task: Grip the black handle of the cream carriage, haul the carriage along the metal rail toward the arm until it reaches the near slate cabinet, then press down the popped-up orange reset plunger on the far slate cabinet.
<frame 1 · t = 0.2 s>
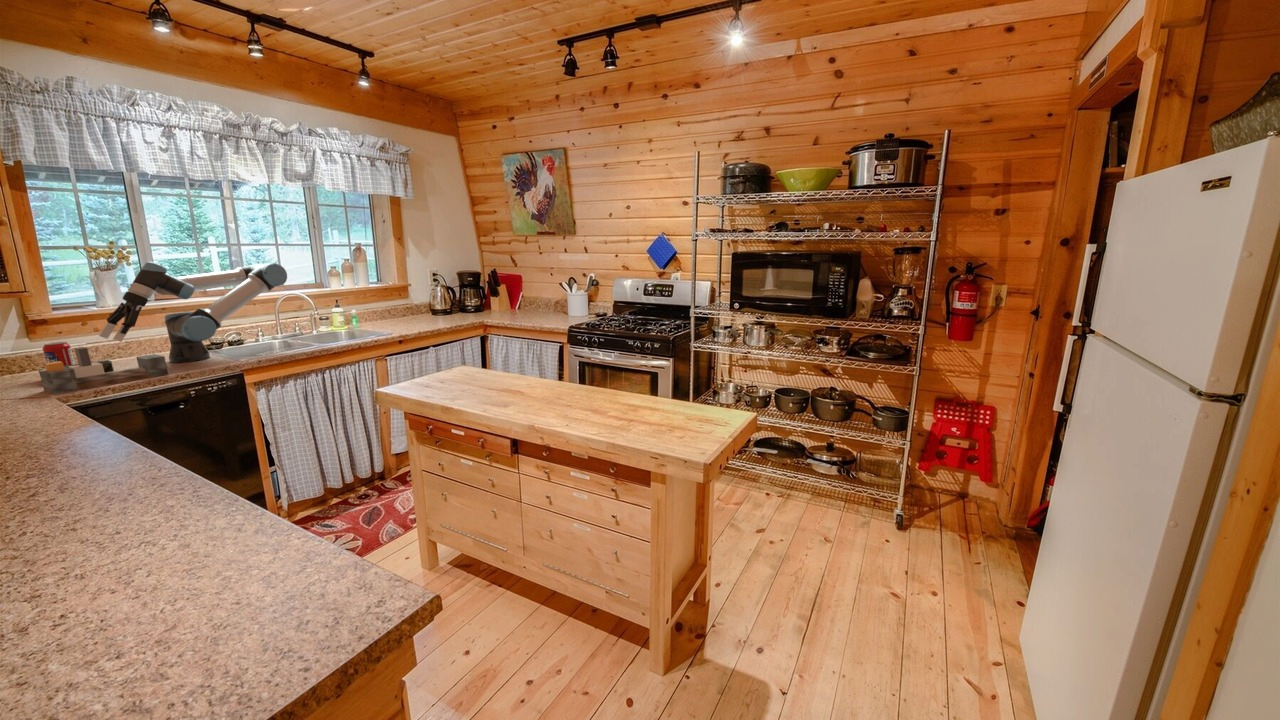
hand: (109, 339, 215), 16 cm above the worktop, tool tilted 35°, fingers open, 13 cm apart
rail stand: (109, 382, 207), on the worktop
reset plunger: (55, 368, 194), point 9 cm above the worktop, slide at 0.0 cm
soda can: (64, 377, 219), on the worktop
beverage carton: (83, 379, 215), on the worktop
carriage: (84, 361, 200), point 10 cm above the worktop, slide at 0.0 cm
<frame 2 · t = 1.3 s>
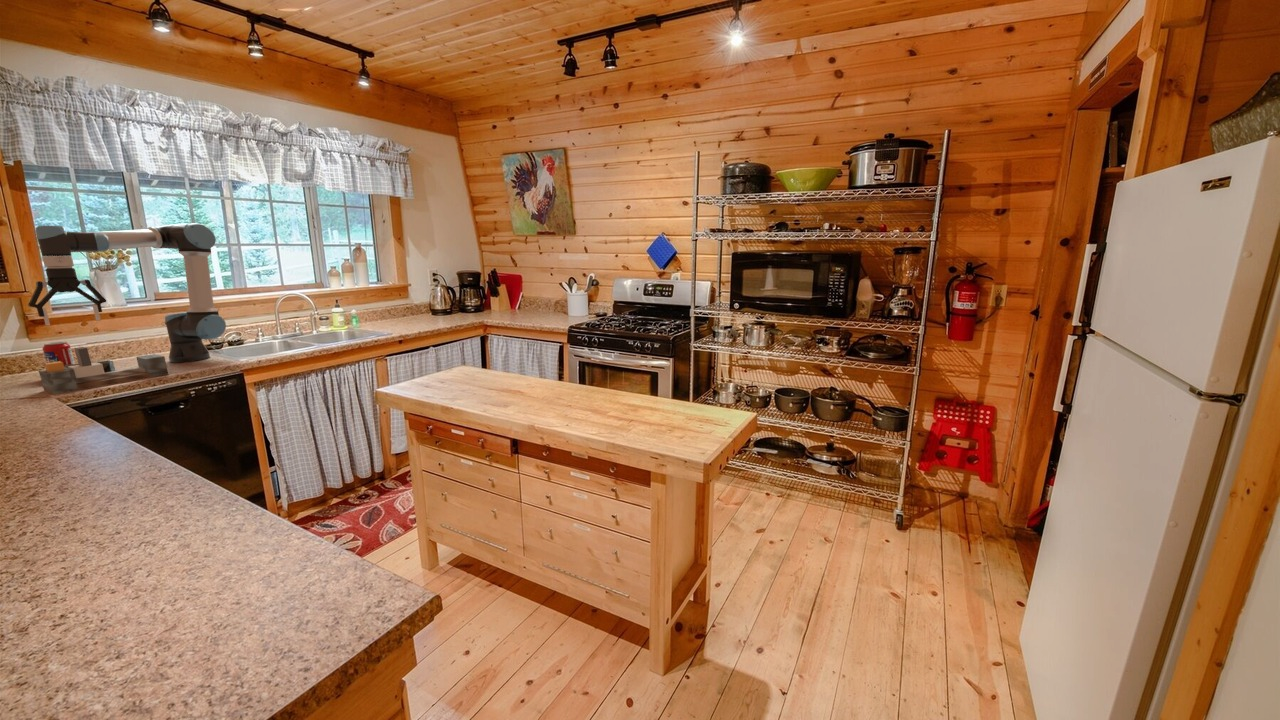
hand: (74, 323, 197), 25 cm above the worktop, tool pointing down, fingers open, 13 cm apart
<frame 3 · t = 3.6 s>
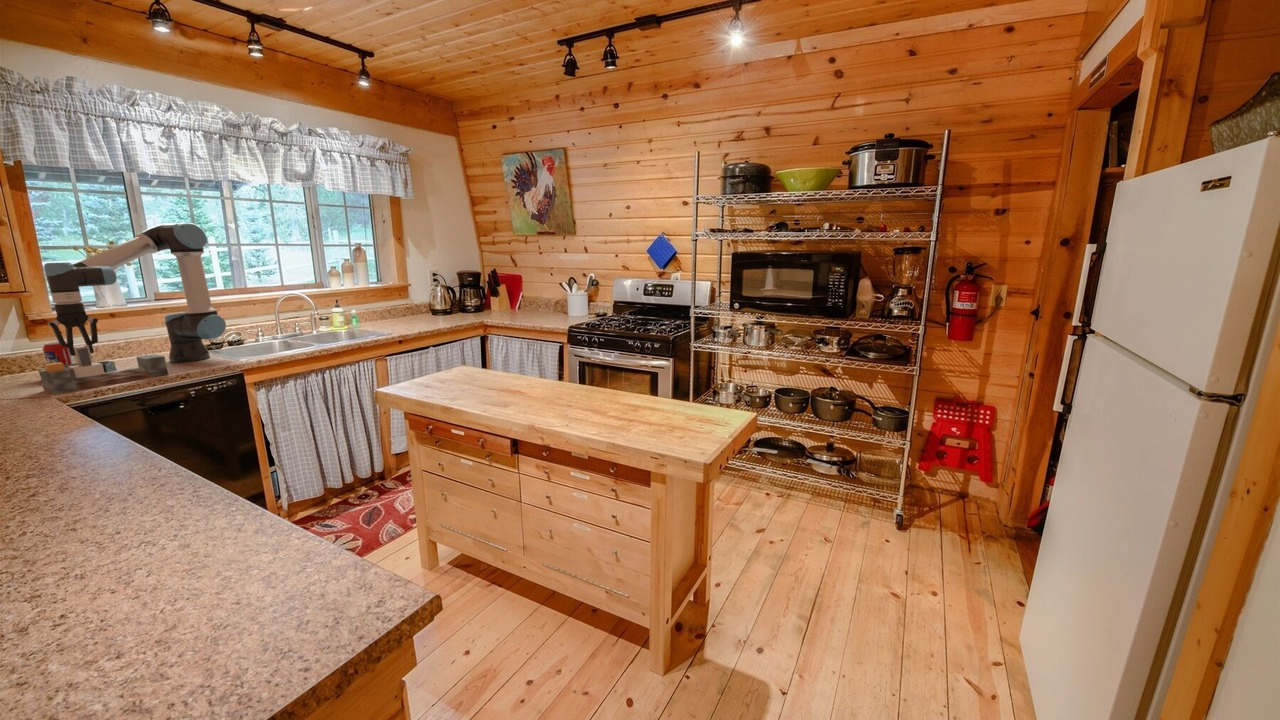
hand: (84, 362, 200), 10 cm above the worktop, tool pointing down, fingers closed on carriage, 2 cm apart
reset plunger: (55, 369, 194), point 8 cm above the worktop, slide at 0.4 cm
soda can: (65, 377, 219), on the worktop, touching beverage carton
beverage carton: (84, 379, 216), on the worktop, touching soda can
carriage: (84, 361, 200), point 10 cm above the worktop, slide at 0.0 cm, touching gripper
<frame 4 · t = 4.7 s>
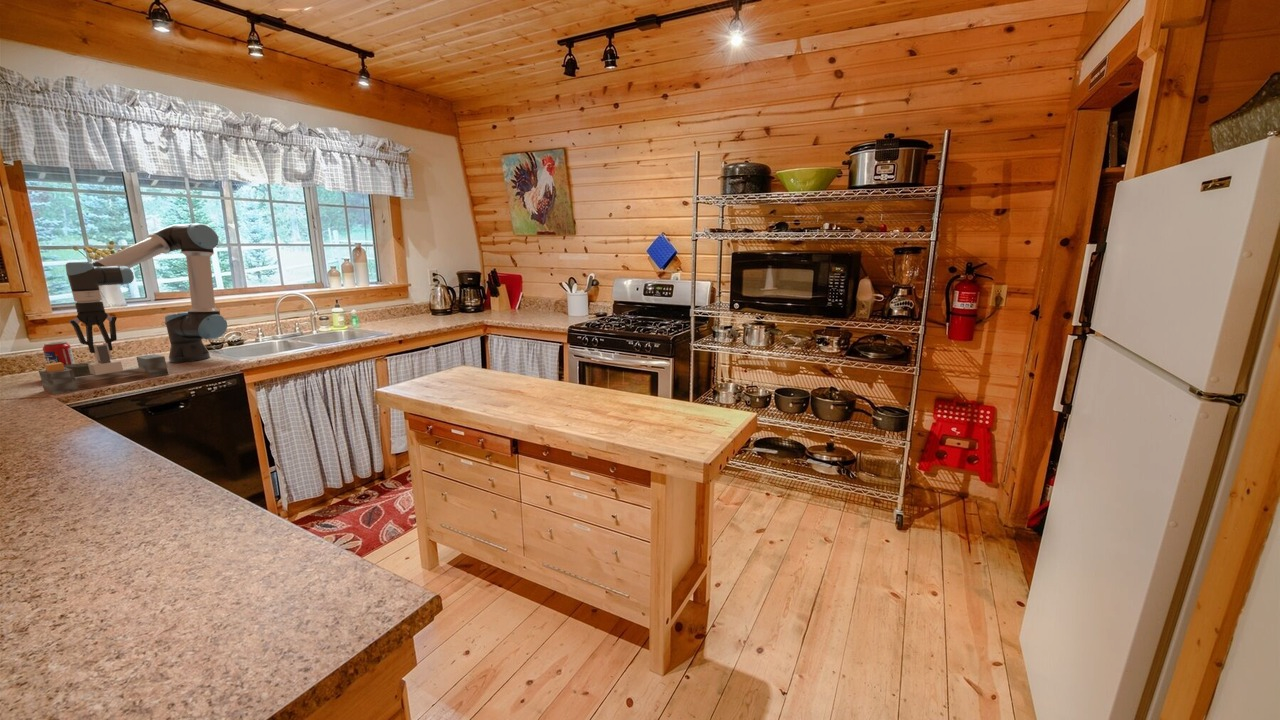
hand: (103, 359, 205), 10 cm above the worktop, tool pointing down, fingers closed on carriage, 2 cm apart
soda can: (65, 377, 219), on the worktop
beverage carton: (84, 379, 216), on the worktop
carriage: (103, 358, 205), point 10 cm above the worktop, slide at 5.5 cm, touching gripper
everything else where it was.
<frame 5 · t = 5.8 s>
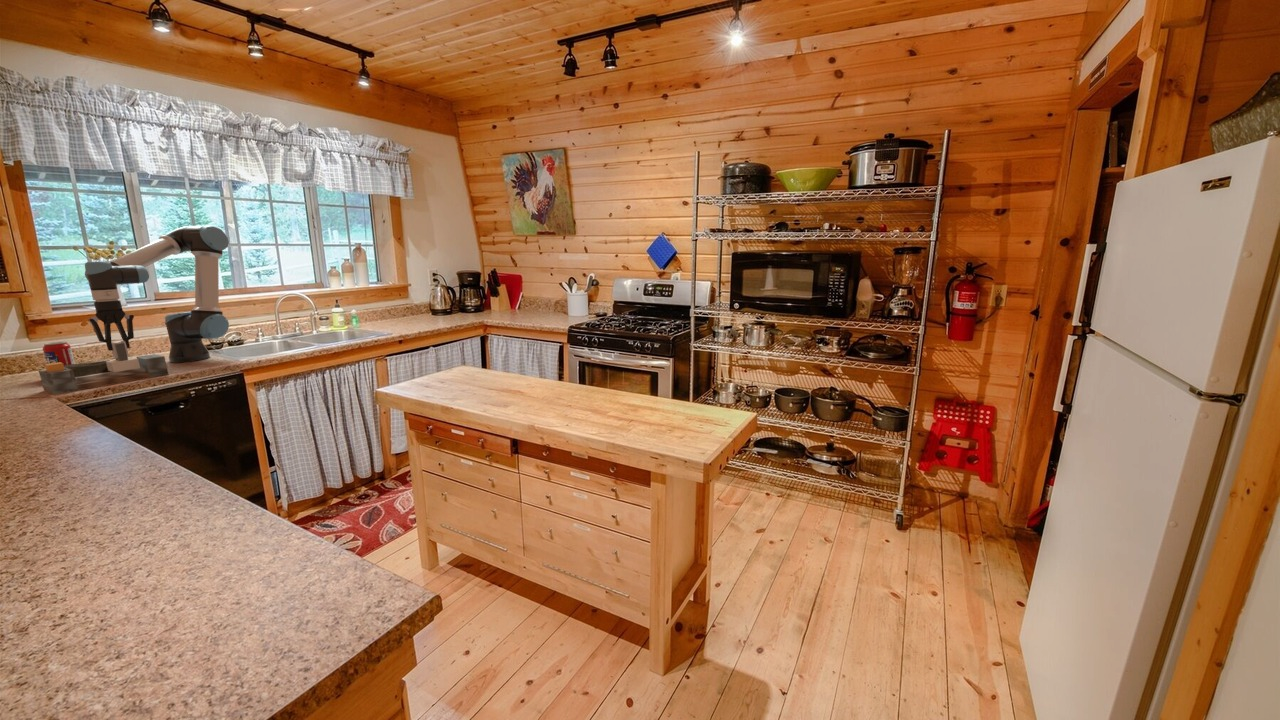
hand: (121, 357, 209), 9 cm above the worktop, tool pointing down, fingers closed on carriage, 2 cm apart
carriage: (121, 356, 209), point 10 cm above the worktop, slide at 10.7 cm, touching gripper
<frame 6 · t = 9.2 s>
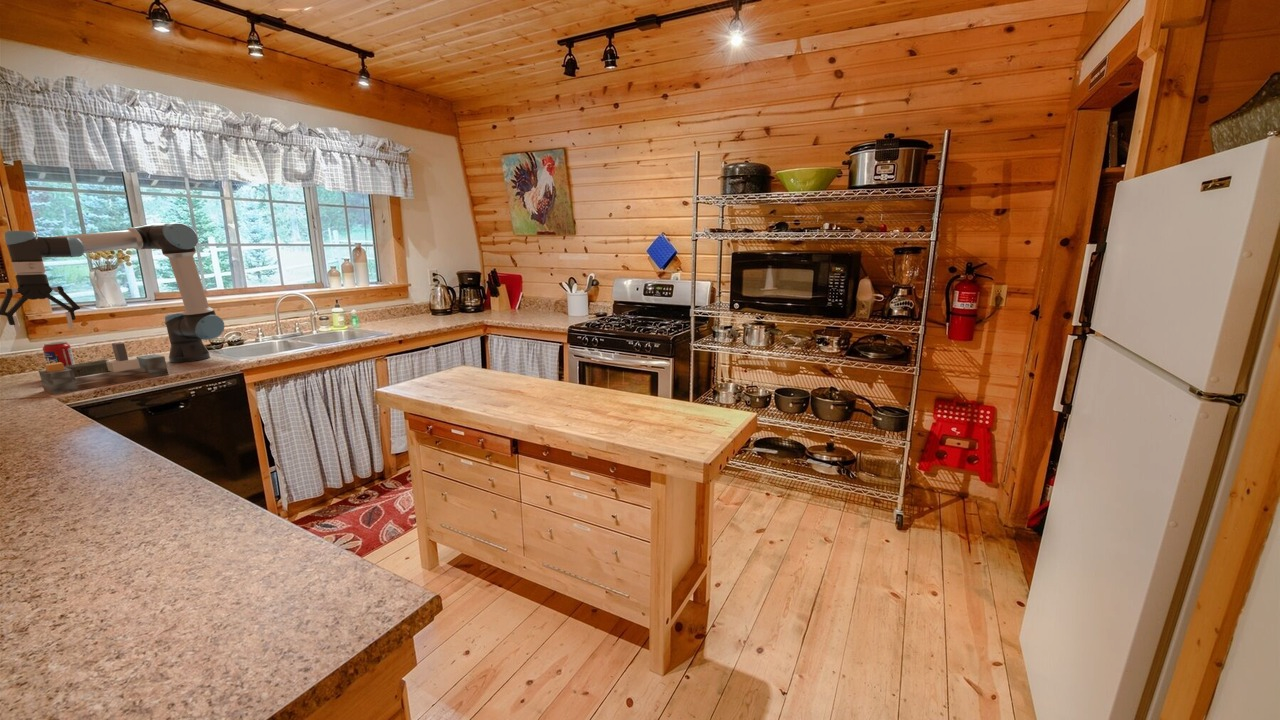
hand: (46, 331, 191), 23 cm above the worktop, tool pointing down, fingers open, 13 cm apart
carriage: (121, 356, 209), point 10 cm above the worktop, slide at 10.7 cm
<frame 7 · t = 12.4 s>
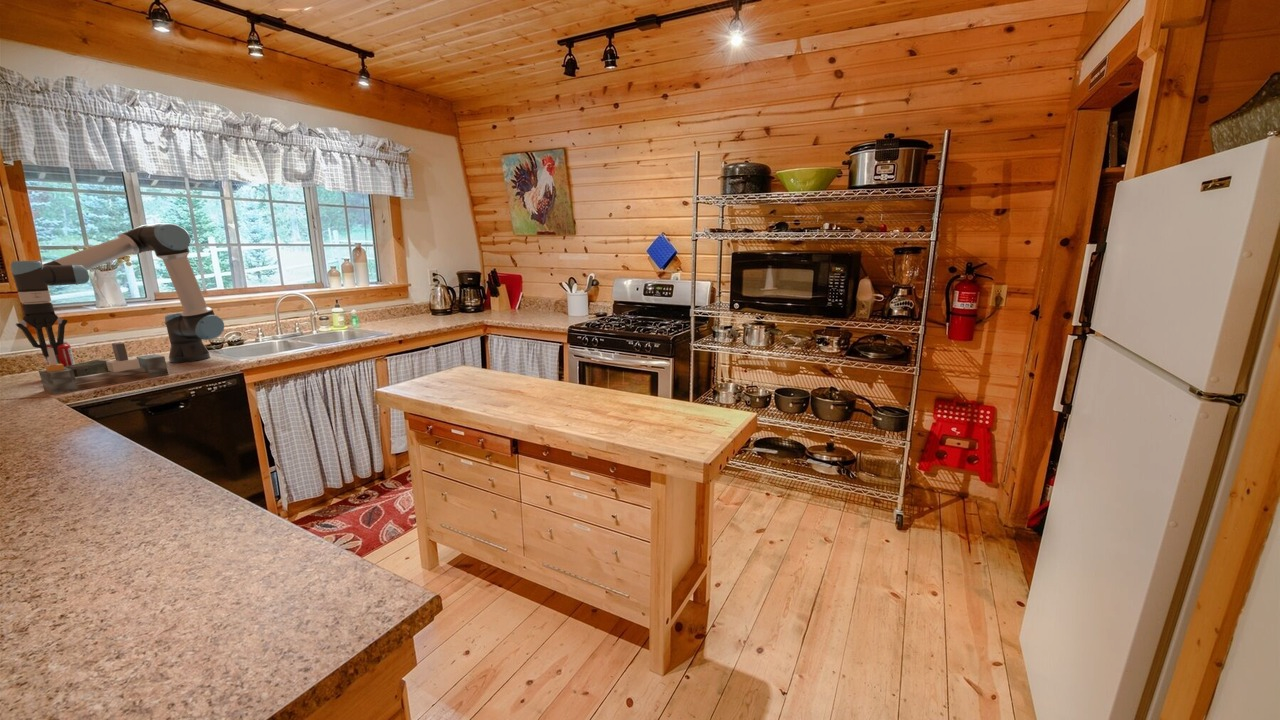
hand: (53, 364, 193), 10 cm above the worktop, tool pointing down, fingers closed
reset plunger: (55, 370, 194), point 8 cm above the worktop, slide at 0.9 cm, touching gripper
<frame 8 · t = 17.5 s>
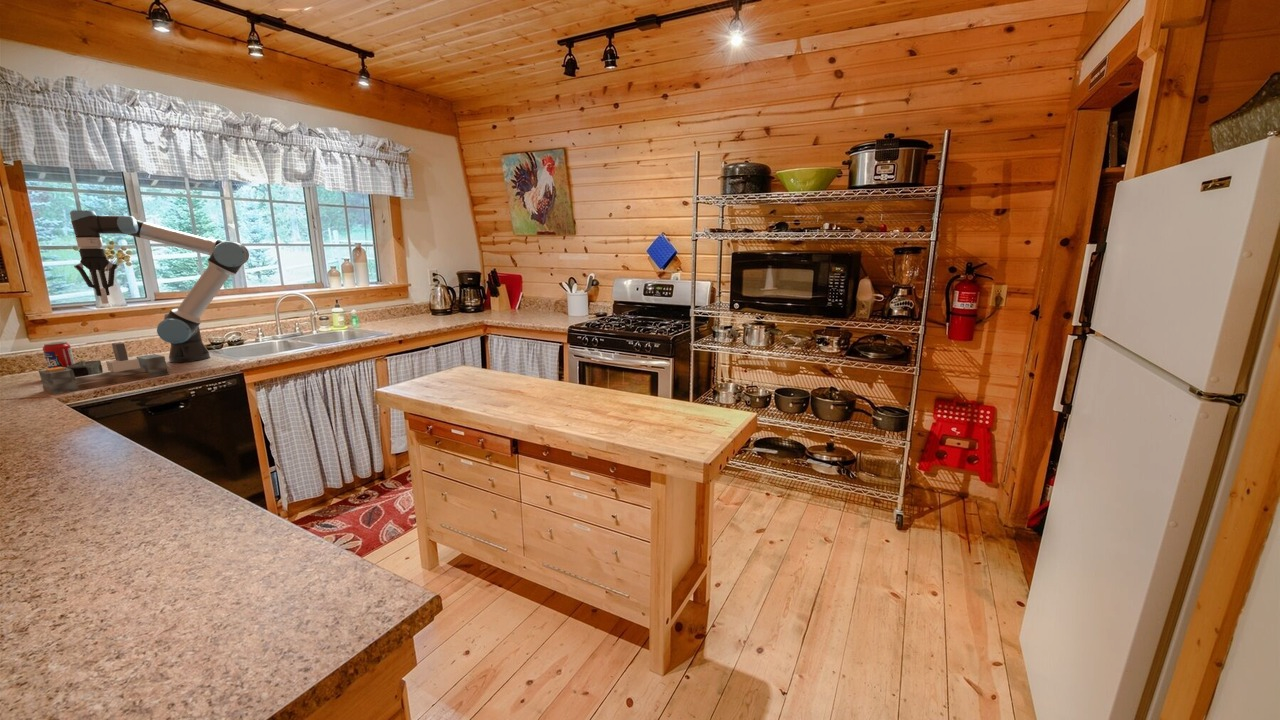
hand: (105, 303, 221), 30 cm above the worktop, tool pointing down, fingers closed
reset plunger: (56, 374, 194), point 7 cm above the worktop, slide at 2.2 cm
at the end: carriage slide at 10.7 cm; reset plunger slide at 2.2 cm; the gripper is holding nothing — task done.
